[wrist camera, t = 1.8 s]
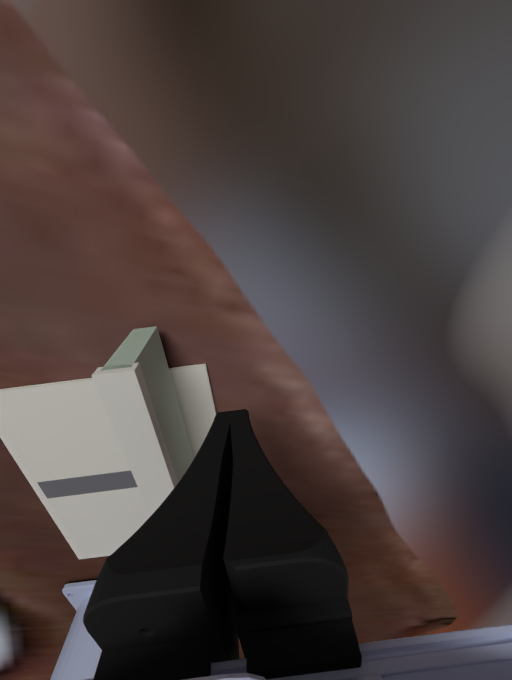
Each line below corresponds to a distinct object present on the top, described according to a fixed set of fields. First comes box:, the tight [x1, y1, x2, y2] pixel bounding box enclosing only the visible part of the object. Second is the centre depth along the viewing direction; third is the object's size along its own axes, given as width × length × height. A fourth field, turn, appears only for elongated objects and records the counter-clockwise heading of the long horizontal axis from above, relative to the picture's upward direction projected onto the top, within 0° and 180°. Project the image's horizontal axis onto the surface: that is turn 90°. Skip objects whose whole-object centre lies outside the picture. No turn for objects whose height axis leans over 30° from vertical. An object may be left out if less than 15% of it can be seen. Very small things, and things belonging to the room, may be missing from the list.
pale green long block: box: [92, 326, 194, 516], centre depth 15 cm, size 12×2×4 cm, turn 6°
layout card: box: [0, 364, 216, 559], centre depth 20 cm, size 16×13×1 cm
